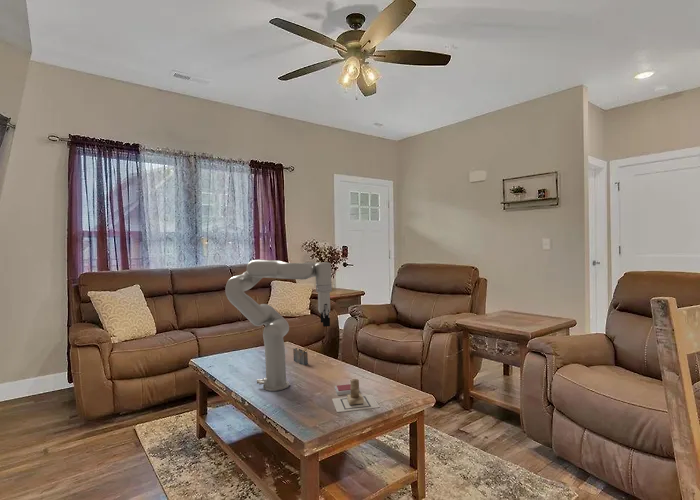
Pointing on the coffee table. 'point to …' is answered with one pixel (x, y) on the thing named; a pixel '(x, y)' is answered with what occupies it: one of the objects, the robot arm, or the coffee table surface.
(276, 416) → the coffee table surface
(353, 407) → the marked card
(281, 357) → the robot arm
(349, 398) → the stamp
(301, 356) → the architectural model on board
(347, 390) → the ink pad
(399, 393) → the coffee table surface
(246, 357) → the coffee table surface
